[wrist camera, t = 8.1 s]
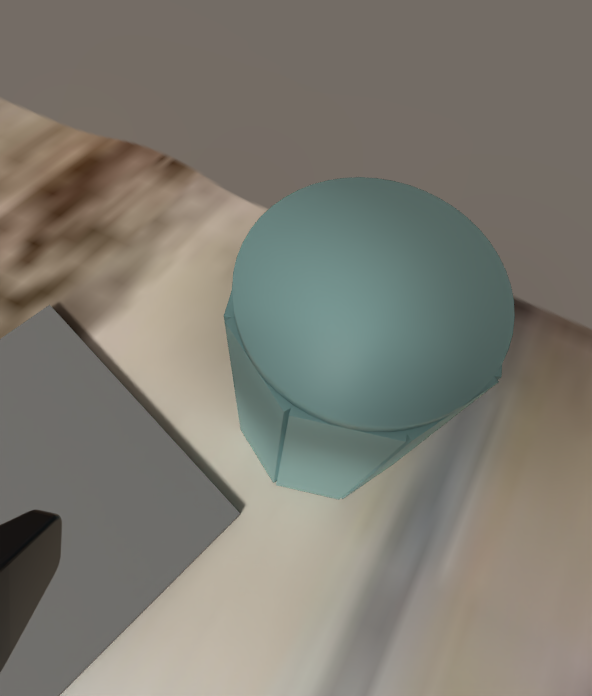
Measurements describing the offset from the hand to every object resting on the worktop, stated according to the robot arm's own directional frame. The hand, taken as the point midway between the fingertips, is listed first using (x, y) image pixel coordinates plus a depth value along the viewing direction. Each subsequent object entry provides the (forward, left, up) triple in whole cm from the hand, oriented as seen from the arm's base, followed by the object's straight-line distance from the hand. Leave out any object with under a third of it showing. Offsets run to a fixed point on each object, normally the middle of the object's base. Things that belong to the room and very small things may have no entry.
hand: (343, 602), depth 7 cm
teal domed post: (+4, -6, -13) cm, 15 cm away
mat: (+10, +5, -13) cm, 17 cm away
